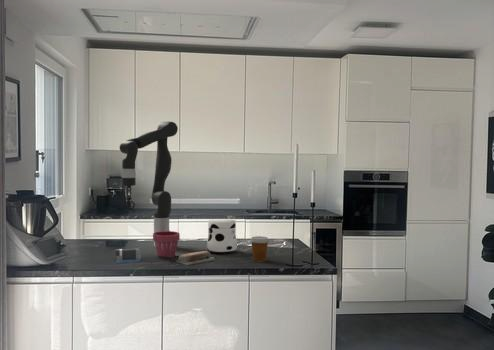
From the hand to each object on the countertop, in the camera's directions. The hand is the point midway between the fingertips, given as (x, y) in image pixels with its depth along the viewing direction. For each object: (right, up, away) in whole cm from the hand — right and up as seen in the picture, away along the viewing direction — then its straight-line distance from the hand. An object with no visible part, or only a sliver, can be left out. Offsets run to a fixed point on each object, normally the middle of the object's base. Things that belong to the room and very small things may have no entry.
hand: (128, 207), depth 264 cm
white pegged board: (+4, -26, -17) cm, 31 cm away
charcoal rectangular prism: (+4, -25, -23) cm, 34 cm away
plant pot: (+23, -26, -10) cm, 36 cm away
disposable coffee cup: (+73, -27, -17) cm, 79 cm away
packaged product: (+40, -27, -20) cm, 52 cm away
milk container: (+52, -26, +4) cm, 58 cm away
